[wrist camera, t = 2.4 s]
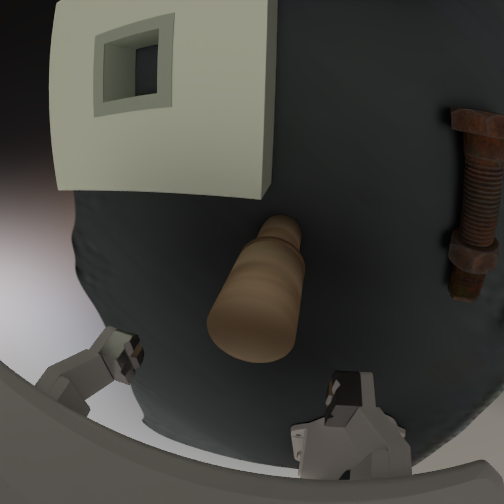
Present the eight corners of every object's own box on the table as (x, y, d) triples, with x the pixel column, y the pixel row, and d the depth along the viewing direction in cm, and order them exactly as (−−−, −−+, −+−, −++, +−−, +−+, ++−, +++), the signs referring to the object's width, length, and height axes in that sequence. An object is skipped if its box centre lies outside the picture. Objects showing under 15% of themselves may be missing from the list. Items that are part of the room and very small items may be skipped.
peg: (305, 261, 23) (290, 369, 13) (253, 254, 24) (209, 354, 14) (311, 211, 21) (302, 305, 11) (255, 204, 21) (202, 289, 12)
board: (271, 182, 20) (260, 200, 17) (86, 177, 24) (57, 190, 20) (278, -37, 12) (268, -63, 8) (85, 8, 15) (56, 2, 11)
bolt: (442, 270, 22) (452, 106, 15) (487, 282, 19) (508, 115, 12) (431, 308, 19) (449, 106, 12) (484, 323, 16) (522, 119, 8)
